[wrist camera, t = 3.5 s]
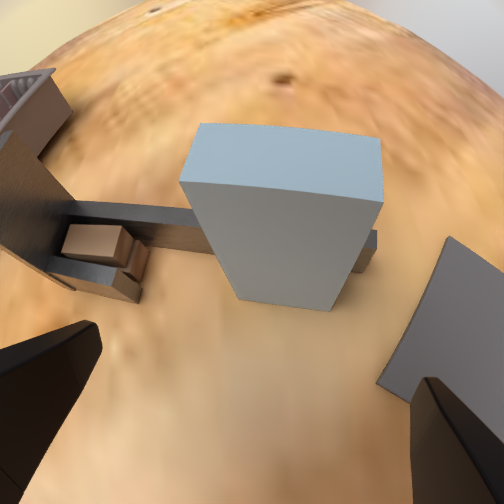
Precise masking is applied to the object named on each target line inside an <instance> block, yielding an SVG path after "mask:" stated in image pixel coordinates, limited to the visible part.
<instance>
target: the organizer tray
mask: <svg viewBox="0 0 504 504" xmlns="http://www.w3.org/2000/svg"><path fill="white" fill-rule="evenodd" d="M55 70H56V68H50V69H41V70H33V71H26V72H20V73H14V74H8V75H3V76H0V137H1V135H2V134H3V132H6V131H11V130H14V131H15V132H16V134H17V135H18V136H19V137H20V138H21V140H22V141H23V142H24V143H25V144H26V146H27V147H28V148H29V149H30V150H31V151H32V153H33V154H34V155H35V156H36V157H37V156H38V155H39V154H40V152H41V151H42V150H43V148H44V147H45V146H46V144H47V143H48V142H49V141H50V139H51V138H52V137H53V135H54V134H55V133H56V132H57V130H58V129H59V128H60V127H61V126H62V124H63V123H64V122H65V121H66V120H67V118H68V117H69V116H70V115H71V114H72V113H73V111H72V109H71V108H70V106H69V105H68V103H67V102H66V100H65V99H64V97H63V95H62V94H61V92H60V91H59V89H58V87H57V86H56V84H55V83H54V81H53V79H52V78H51V76H50V75H51V74H52V73H53V72H54V71H55Z"/></svg>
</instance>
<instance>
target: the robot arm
mask: <svg viewBox="0 0 504 504" xmlns="http://www.w3.org/2000/svg"><path fill="white" fill-rule="evenodd" d="M102 348H103V347H102V341H101V337H100V333H99V329H98V326H97V324H96V323H94V322H91V321H87V320H82V321H79V322H77V323H74V324H71V325H68V326H65V327H63V328H60V329H57V330H54V331H51V332H48V333H46V334H43V335H40V336H37V337H34V338H31V339H29V340H26V341H23V342H20V343H17V344H14V345H11V346H9V347H6V348H3V349H0V504H19V502H20V500H21V498H22V496H23V494H24V492H25V490H26V488H27V486H28V484H29V482H30V480H31V479H32V477H33V475H34V473H35V471H36V469H37V468H38V466H39V464H40V462H41V460H42V459H43V457H44V455H45V453H46V452H47V450H48V448H49V446H50V445H51V443H52V441H53V439H54V438H55V436H56V434H57V433H58V431H59V429H60V427H61V426H62V424H63V422H64V421H65V419H66V417H67V416H68V414H69V412H70V411H71V409H72V408H73V406H74V404H75V403H76V401H77V399H78V398H79V396H80V394H81V393H82V391H83V389H84V387H85V385H86V383H87V381H88V379H89V377H90V375H91V373H92V371H93V369H94V367H95V365H96V363H97V361H98V359H99V357H100V355H101V353H102ZM410 460H411V473H412V489H413V504H504V443H503V442H502V441H501V440H500V439H499V438H498V437H497V436H496V435H495V434H494V433H493V432H492V431H491V430H490V429H489V428H488V427H487V426H486V425H485V424H484V423H483V422H482V420H481V419H480V418H479V417H478V416H477V415H476V414H475V413H474V412H473V411H472V410H471V409H470V408H469V407H468V406H467V405H466V404H465V403H464V402H463V401H462V400H461V399H460V398H458V397H457V396H456V395H455V394H454V393H453V392H452V391H451V390H450V389H449V388H448V387H447V386H446V385H445V384H444V383H443V382H442V381H441V380H440V379H439V378H438V377H430V376H425V377H423V378H422V379H421V380H420V382H419V384H418V386H417V389H416V391H415V393H414V394H413V396H412V399H411V403H410Z"/></svg>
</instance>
